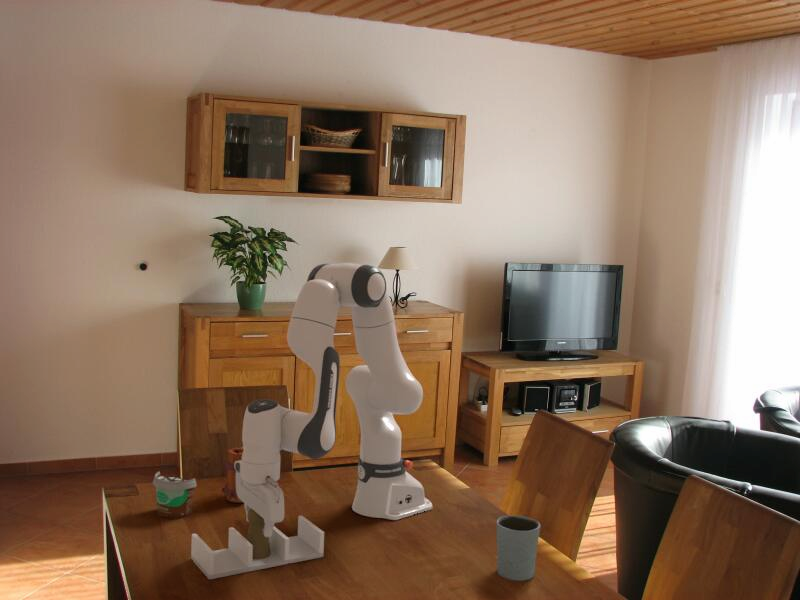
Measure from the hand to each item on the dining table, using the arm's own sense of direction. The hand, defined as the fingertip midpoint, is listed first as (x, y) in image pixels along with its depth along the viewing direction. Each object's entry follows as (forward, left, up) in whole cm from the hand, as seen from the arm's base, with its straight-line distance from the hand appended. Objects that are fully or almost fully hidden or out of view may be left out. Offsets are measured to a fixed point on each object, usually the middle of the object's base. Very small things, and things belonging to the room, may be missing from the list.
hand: (258, 528), depth 203 cm
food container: (+10, -35, -7) cm, 37 cm away
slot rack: (0, 0, -7) cm, 7 cm away
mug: (-12, -40, -7) cm, 42 cm away
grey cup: (-50, +33, -7) cm, 60 cm away
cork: (0, 0, -6) cm, 6 cm away
